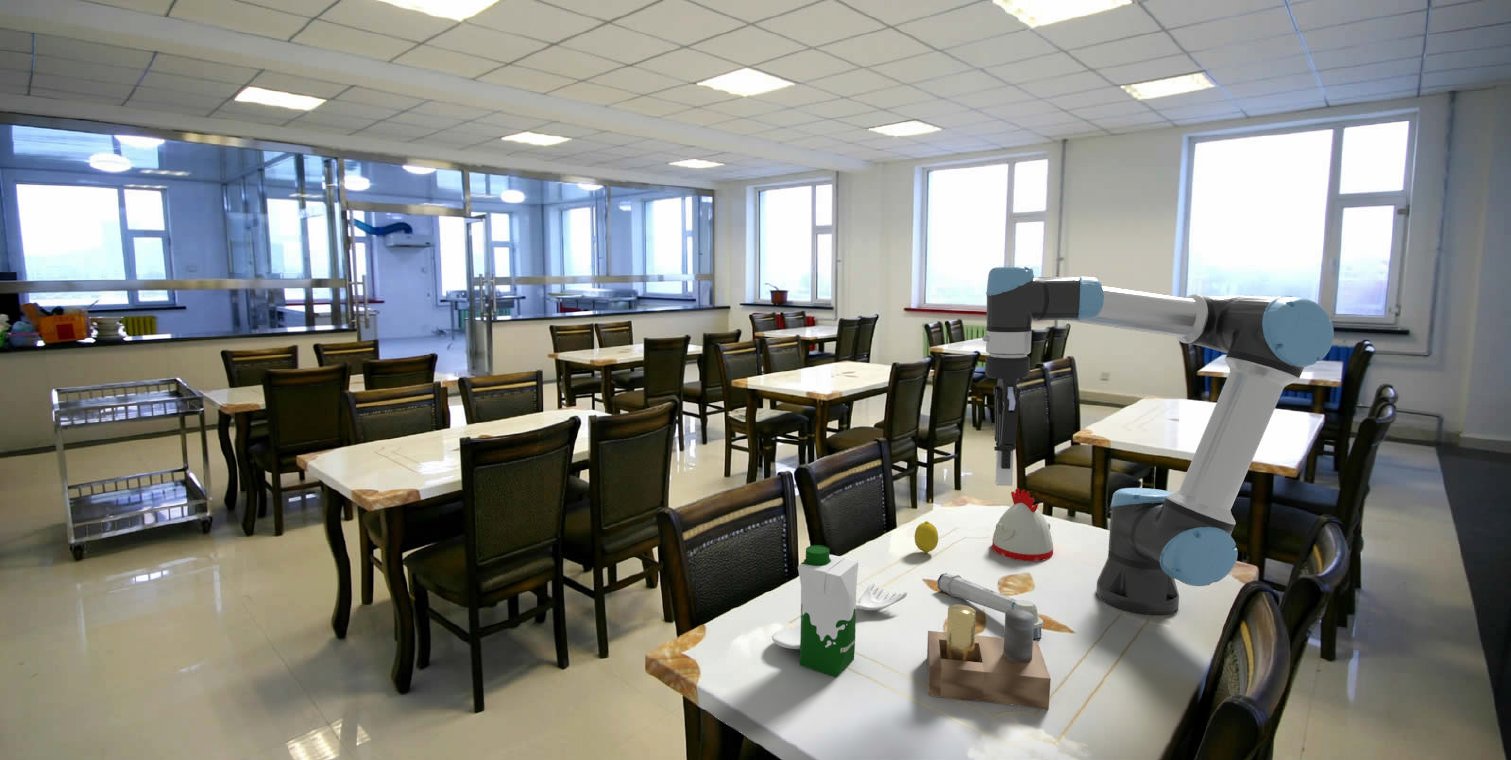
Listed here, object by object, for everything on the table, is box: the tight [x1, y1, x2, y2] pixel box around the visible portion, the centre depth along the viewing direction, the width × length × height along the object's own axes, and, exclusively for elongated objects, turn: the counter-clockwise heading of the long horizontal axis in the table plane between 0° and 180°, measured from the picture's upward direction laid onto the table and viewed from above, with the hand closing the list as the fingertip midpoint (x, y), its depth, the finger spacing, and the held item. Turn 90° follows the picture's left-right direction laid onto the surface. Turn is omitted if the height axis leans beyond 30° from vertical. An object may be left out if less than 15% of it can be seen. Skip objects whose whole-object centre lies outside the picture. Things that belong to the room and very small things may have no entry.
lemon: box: [914, 520, 939, 555], centre depth 177 cm, size 6×6×8 cm
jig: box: [926, 609, 1052, 710], centre depth 121 cm, size 18×12×12 cm, turn 79°
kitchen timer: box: [991, 487, 1054, 562], centre depth 179 cm, size 14×14×15 cm
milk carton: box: [797, 544, 859, 678], centre depth 126 cm, size 9×9×20 cm
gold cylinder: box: [946, 604, 977, 662], centre depth 122 cm, size 4×4×12 cm
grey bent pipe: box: [936, 572, 1044, 639], centre depth 146 cm, size 5×7×25 cm
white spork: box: [771, 582, 908, 650], centre depth 140 cm, size 9×32×4 cm, turn 133°
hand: (1003, 484), depth 134 cm, fingers closed
